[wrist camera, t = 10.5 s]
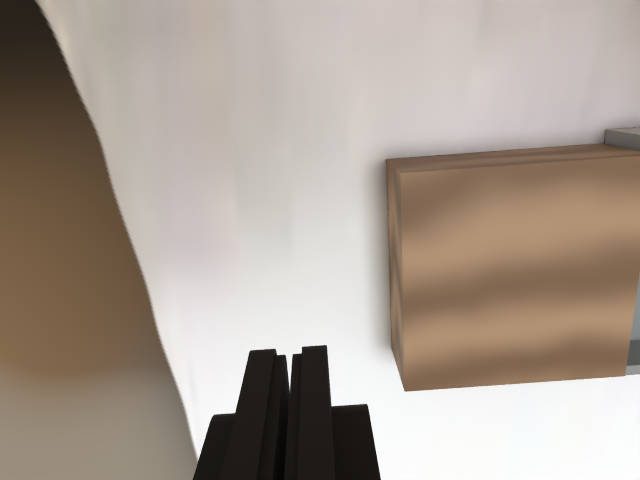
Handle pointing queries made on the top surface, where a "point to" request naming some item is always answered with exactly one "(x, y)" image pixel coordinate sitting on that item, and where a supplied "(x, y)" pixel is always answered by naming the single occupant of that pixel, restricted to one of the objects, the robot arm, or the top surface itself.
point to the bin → (636, 361)
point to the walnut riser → (513, 265)
